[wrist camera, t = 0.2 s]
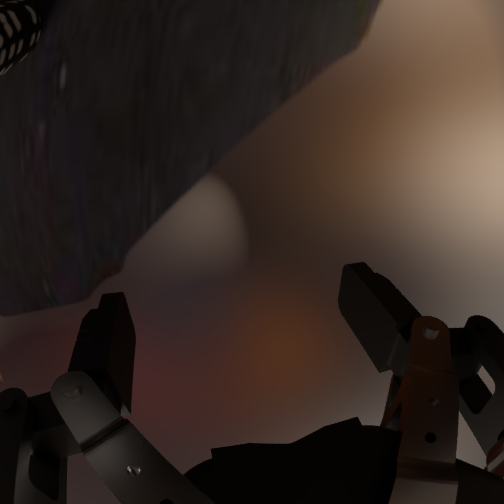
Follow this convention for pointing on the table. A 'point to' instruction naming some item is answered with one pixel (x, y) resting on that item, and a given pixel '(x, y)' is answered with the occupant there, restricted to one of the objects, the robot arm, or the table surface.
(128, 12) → the table surface
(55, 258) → the table surface
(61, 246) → the table surface
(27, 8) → the spotted tube
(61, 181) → the table surface
